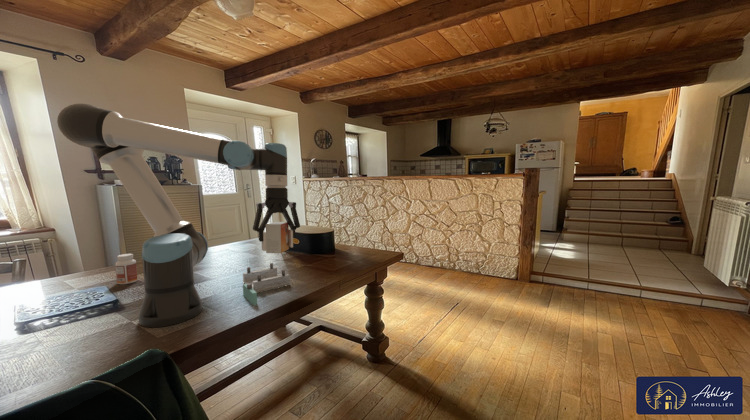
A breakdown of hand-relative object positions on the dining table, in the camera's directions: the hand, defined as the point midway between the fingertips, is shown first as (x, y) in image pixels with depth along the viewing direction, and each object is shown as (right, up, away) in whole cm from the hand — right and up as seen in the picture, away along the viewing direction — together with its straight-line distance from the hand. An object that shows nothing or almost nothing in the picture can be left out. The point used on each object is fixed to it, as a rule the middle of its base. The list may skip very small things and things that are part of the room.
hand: (277, 248), depth 103 cm
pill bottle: (-63, -15, +8) cm, 65 cm away
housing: (-7, -15, +6) cm, 17 cm away
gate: (-6, -16, -9) cm, 19 cm away
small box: (0, -1, 0) cm, 1 cm away
